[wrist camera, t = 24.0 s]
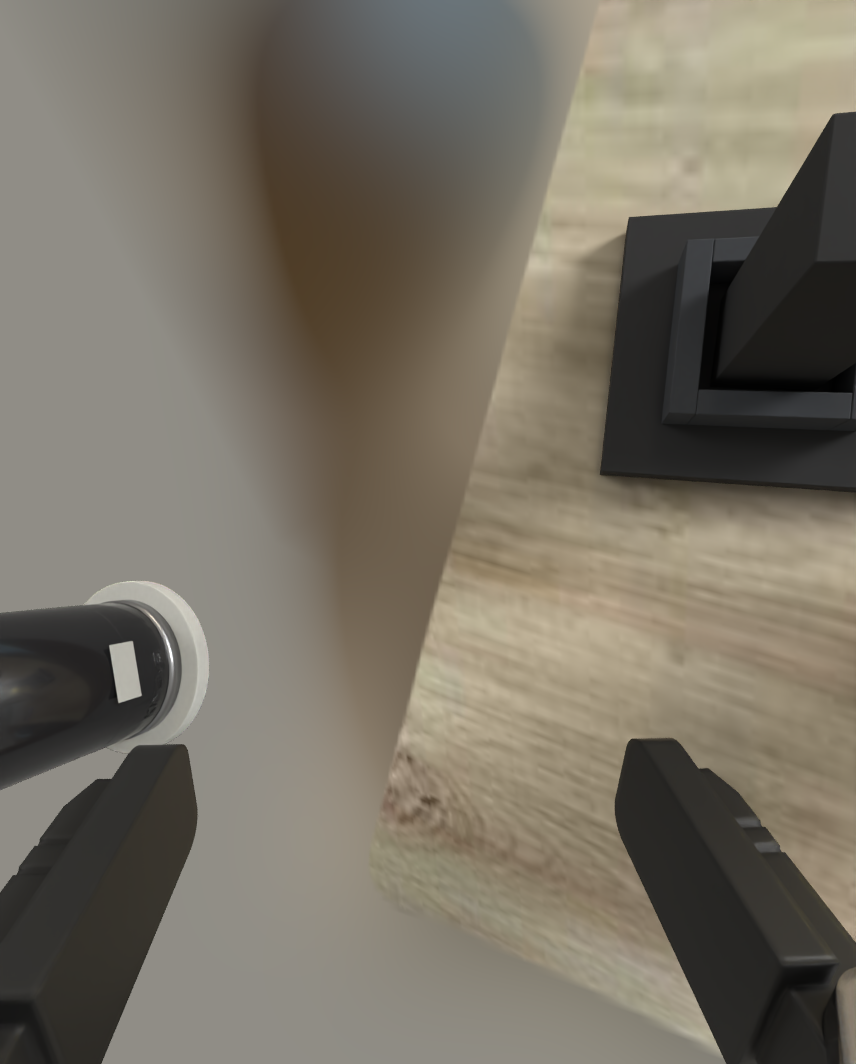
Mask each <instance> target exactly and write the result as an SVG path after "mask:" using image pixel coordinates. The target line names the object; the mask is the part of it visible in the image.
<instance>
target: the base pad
mask: <svg viewBox="0 0 856 1064" xmlns="http://www.w3.org/2000/svg"><path fill="white" fill-rule="evenodd" d="M776 208H777V207H774V208H759V209H744V210H729V211H714V212H699V213H684V214H670V215H655V216H640V217H629V220H628V225H627V231H626V239H625V248H624V258H623V267H622V276H621V285H620V295H619V304H618V313H617V322H616V331H615V341H614V350H613V359H612V368H611V378H610V387H609V396H608V405H607V414H606V424H605V433H604V442H603V451H602V461H601V470H600V475H612V476H627V477H641V478H656V479H670V480H685V481H699V482H714V483H728V484H743V485H757V486H772V487H786V488H801V489H815V490H830V491H844V492H856V363H854V364H853V365H851V366H850V367H848V368H847V369H846V370H844V371H843V372H841V373H840V374H838V375H837V376H835V377H834V378H832V379H831V380H829V381H828V382H826V383H825V384H823V385H822V386H820V387H819V388H817V389H816V390H814V391H804V390H779V389H754V388H728V387H711V386H710V383H711V375H712V367H713V359H714V351H715V344H716V336H717V328H718V320H719V312H720V304H721V299H722V298H723V296H724V294H725V293H726V291H727V289H728V288H729V286H730V284H731V283H732V281H733V279H734V278H735V276H736V274H737V273H738V271H739V269H740V268H741V266H742V264H743V263H744V261H745V260H746V258H747V256H748V255H749V253H750V251H751V250H752V248H753V246H754V245H755V243H756V241H757V240H758V238H759V236H760V235H761V233H762V231H763V230H764V228H765V226H766V225H767V223H768V221H769V220H770V218H771V216H772V215H773V213H774V211H775V210H776Z"/></svg>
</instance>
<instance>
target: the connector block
mask: <svg viewBox="0 0 856 1064" xmlns="http://www.w3.org/2000/svg"><path fill="white" fill-rule="evenodd" d="M854 363H856V112H848V113H837V114H833V115H832V117H831V118H830V120H829V122H828V123H827V125H826V127H825V128H824V130H823V132H822V133H821V135H820V137H819V138H818V140H817V142H816V143H815V145H814V147H813V148H812V150H811V152H810V153H809V155H808V157H807V158H806V160H805V162H804V163H803V165H802V167H801V168H800V170H799V172H798V173H797V175H796V176H795V178H794V180H793V181H792V183H791V185H790V186H789V188H788V190H787V191H786V193H785V195H784V196H783V198H782V200H781V201H780V203H779V205H778V206H777V208H776V210H775V211H774V213H773V215H772V216H771V218H770V220H769V221H768V223H767V225H766V226H765V228H764V230H763V231H762V233H761V235H760V236H759V238H758V240H757V241H756V243H755V245H754V246H753V248H752V250H751V251H750V253H749V255H748V256H747V258H746V260H745V261H744V263H743V264H742V266H741V268H740V269H739V271H738V273H737V274H736V276H735V278H734V279H733V281H732V283H731V284H730V286H729V288H728V289H727V291H726V293H725V294H724V296H723V298H722V299H721V304H720V312H719V320H718V328H717V336H716V344H715V351H714V359H713V367H712V375H711V383H710V386H711V387H728V388H754V389H779V390H804V391H814V390H816V389H817V388H819V387H820V386H822V385H823V384H825V383H826V382H828V381H829V380H831V379H832V378H834V377H835V376H837V375H838V374H840V373H841V372H843V371H844V370H846V369H847V368H848V367H850V366H851V365H853V364H854Z"/></svg>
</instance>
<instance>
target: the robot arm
mask: <svg viewBox="0 0 856 1064" xmlns="http://www.w3.org/2000/svg"><path fill="white" fill-rule="evenodd" d="M181 675H182V663H181V654H180V649H179V645H178V642H177V639H176V637H175V635H174V632H173V631H172V629H171V627H170V625H169V624H168V622H167V621H166V620H165V618H164V617H163V616H162V615H161V614H160V613H159V612H158V611H156V610H155V609H154V608H152V607H151V606H149V605H147V604H145V603H143V602H140V601H136V600H116V601H108V602H103V603H100V604H91V605H80V606H68V607H57V608H46V609H36V610H26V611H16V612H6V613H0V790H2V789H4V788H7V787H9V786H12V785H14V784H17V783H19V782H22V781H24V780H26V779H29V778H31V777H34V776H36V775H39V774H41V773H43V772H46V771H49V770H51V769H53V768H56V767H58V766H61V765H63V764H66V763H68V762H71V761H73V760H75V759H78V758H80V757H83V756H85V755H88V754H90V753H93V752H96V751H98V750H100V749H103V748H105V747H108V746H110V745H113V744H115V743H117V742H120V741H122V740H127V739H131V738H134V737H136V736H138V735H141V734H143V733H145V732H148V731H150V730H151V729H153V728H155V727H156V726H157V725H159V724H160V723H161V722H162V721H163V720H164V719H165V717H166V716H167V715H168V713H169V712H170V711H171V709H172V707H173V705H174V703H175V701H176V698H177V695H178V692H179V688H180V683H181ZM615 816H616V822H617V827H618V830H619V833H620V836H621V838H622V841H623V843H624V845H625V847H626V849H627V852H628V854H629V856H630V858H631V860H632V862H633V864H634V867H635V869H636V871H637V873H638V875H639V877H640V879H641V882H642V884H643V886H644V888H645V890H646V892H647V894H648V897H649V899H650V901H651V903H652V905H653V907H654V909H655V912H656V914H657V916H658V918H659V920H660V922H661V924H662V927H663V929H664V931H665V933H666V935H667V937H668V940H669V942H670V944H671V946H672V948H673V950H674V952H675V955H676V957H677V959H678V961H679V963H680V965H681V967H682V970H683V972H684V974H685V976H686V978H687V980H688V982H689V985H690V987H691V989H692V991H693V993H694V995H695V997H696V1000H697V1002H698V1004H699V1006H700V1008H701V1010H702V1012H703V1015H704V1017H705V1019H706V1021H707V1023H708V1025H709V1027H710V1030H711V1032H712V1034H713V1036H714V1038H715V1040H716V1043H717V1045H718V1047H719V1049H720V1051H721V1053H722V1055H723V1058H724V1060H725V1062H726V1064H856V942H855V941H854V940H853V939H852V937H851V936H850V935H849V933H848V932H847V931H846V930H845V928H844V927H843V926H842V925H841V923H840V922H839V921H838V919H837V918H836V917H835V916H834V914H833V913H832V912H831V910H830V909H829V908H828V907H827V905H826V904H825V903H824V902H823V900H822V899H821V898H820V896H819V895H818V894H817V893H816V891H815V890H814V889H813V887H812V886H811V885H810V884H809V882H808V881H807V880H806V879H805V877H804V876H803V875H802V873H801V872H800V871H799V870H798V868H797V867H796V866H795V864H794V863H793V862H792V861H791V859H790V858H789V857H788V856H787V854H786V853H785V852H781V850H780V845H779V844H778V843H777V841H776V840H775V839H774V838H773V836H772V835H771V834H770V833H769V831H768V830H767V829H766V827H762V826H761V823H760V820H759V818H758V817H757V816H756V815H755V813H754V812H753V811H752V810H751V808H750V807H749V806H748V804H747V803H746V802H745V801H744V799H743V798H742V797H741V795H740V794H739V793H738V792H737V791H736V790H735V789H733V788H732V787H731V786H730V785H728V784H727V783H726V782H725V781H723V780H722V779H721V778H720V777H718V776H717V775H716V774H715V773H713V772H712V771H711V770H710V769H708V768H705V769H698V767H697V766H696V764H695V763H694V762H693V760H692V759H691V758H690V756H689V755H688V754H687V752H686V751H685V749H684V748H683V747H682V745H681V744H680V743H679V742H678V741H677V740H675V739H673V738H647V739H631V740H630V741H629V742H628V744H627V747H626V752H625V756H624V761H623V765H622V770H621V775H620V779H619V784H618V788H617V793H616V798H615ZM196 826H197V803H196V797H195V791H194V785H193V779H192V773H191V766H190V761H189V754H188V750H187V748H186V746H185V745H182V744H176V745H175V744H174V745H138V746H136V747H134V748H133V749H132V750H131V751H130V753H129V754H128V755H127V757H126V759H125V760H124V761H123V763H122V764H121V766H120V767H119V769H118V770H117V772H116V773H115V775H114V777H113V778H112V779H97V780H95V781H94V782H93V783H92V784H90V786H88V787H87V788H86V789H84V790H83V791H82V792H81V793H80V794H78V795H77V796H76V797H75V798H74V799H72V800H71V801H70V802H69V803H68V804H66V805H65V806H64V807H63V808H62V810H61V811H60V813H59V814H58V815H57V817H56V818H55V819H54V821H53V822H52V823H51V825H50V826H49V827H48V829H47V830H46V831H45V833H44V834H43V836H42V837H41V838H40V842H39V844H38V846H34V848H33V849H32V850H31V852H30V853H29V854H28V856H27V857H26V859H25V860H24V861H23V863H22V864H21V865H20V867H19V871H18V873H17V875H13V876H12V877H11V879H10V880H9V881H8V883H7V884H6V886H5V887H4V888H3V890H2V891H1V892H0V1064H101V1063H102V1061H103V1058H104V1056H105V1053H106V1051H107V1049H108V1046H109V1044H110V1041H111V1039H112V1036H113V1034H114V1032H115V1029H116V1027H117V1024H118V1022H119V1020H120V1017H121V1015H122V1013H123V1010H124V1008H125V1005H126V1003H127V1000H128V998H129V996H130V993H131V991H132V989H133V986H134V984H135V982H136V979H137V977H138V974H139V972H140V969H141V967H142V965H143V962H144V960H145V958H146V955H147V953H148V950H149V948H150V945H151V943H152V941H153V938H154V936H155V934H156V931H157V929H158V926H159V924H160V921H161V919H162V917H163V914H164V912H165V910H166V907H167V905H168V902H169V900H170V897H171V895H172V893H173V890H174V888H175V886H176V883H177V881H178V878H179V876H180V874H181V871H182V869H183V867H184V864H185V862H186V859H187V857H188V855H189V852H190V850H191V847H192V844H193V840H194V836H195V832H196Z"/></svg>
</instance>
